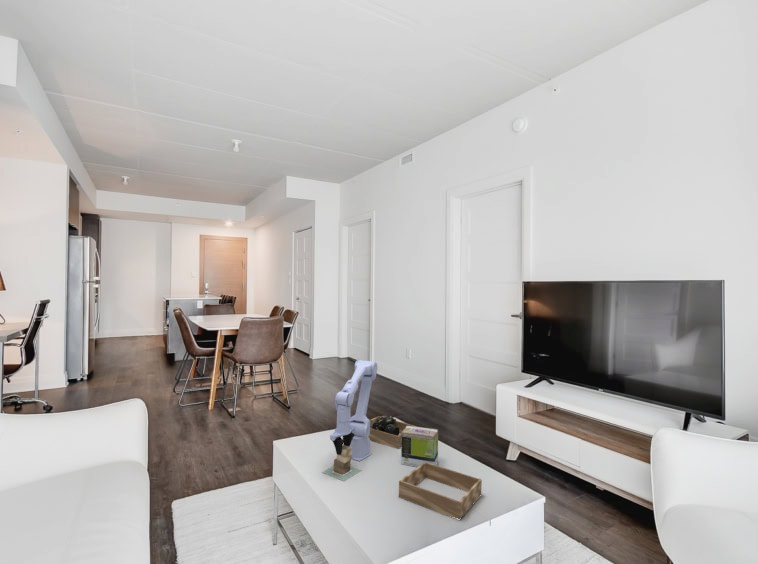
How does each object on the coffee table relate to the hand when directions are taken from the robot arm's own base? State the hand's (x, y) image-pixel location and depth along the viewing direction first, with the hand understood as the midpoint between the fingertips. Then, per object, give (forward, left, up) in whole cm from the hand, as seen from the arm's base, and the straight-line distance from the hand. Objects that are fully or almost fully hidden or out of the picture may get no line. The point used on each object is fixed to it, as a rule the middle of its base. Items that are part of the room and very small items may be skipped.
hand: (342, 452), depth 168 cm
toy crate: (-8, +42, -8) cm, 44 cm away
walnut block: (0, 0, -8) cm, 8 cm away
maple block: (0, +1, -3) cm, 3 cm away
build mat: (0, 0, -8) cm, 8 cm away
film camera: (-44, -6, -8) cm, 45 cm away
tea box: (-28, +22, -8) cm, 37 cm away
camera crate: (-44, -6, -8) cm, 45 cm away
